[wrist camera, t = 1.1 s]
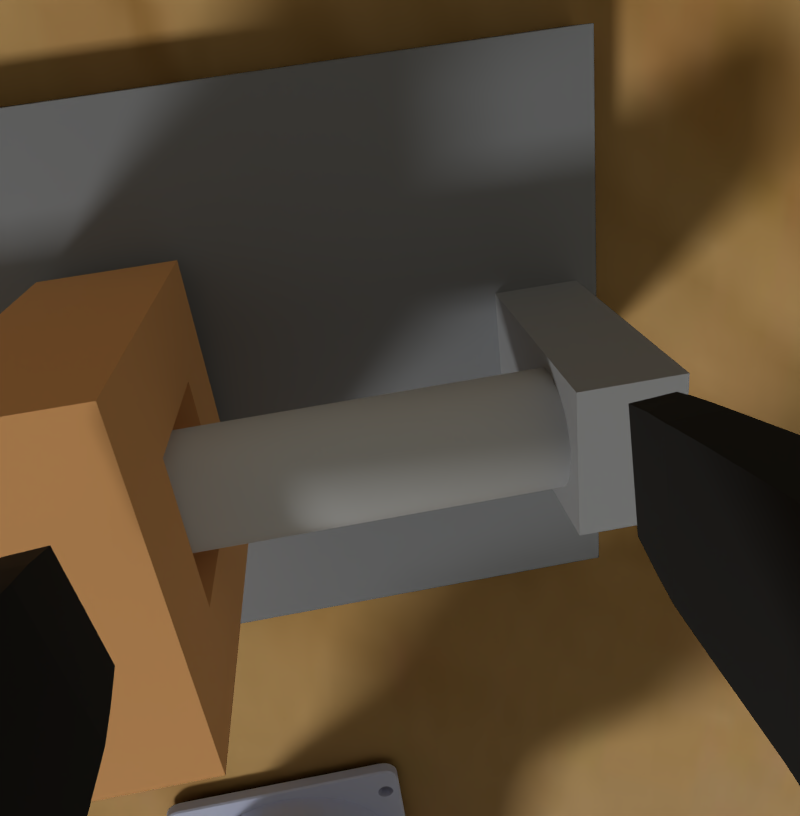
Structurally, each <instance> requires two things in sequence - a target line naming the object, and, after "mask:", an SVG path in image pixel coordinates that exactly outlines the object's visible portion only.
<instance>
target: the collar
mask: <svg viewBox="0 0 800 816" xmlns="http://www.w3.org/2000/svg"><path fill="white" fill-rule="evenodd" d="M217 422H220V419H219V416H218V412H217V408H216V404H215V400H214V397H213V393H212V389H211V385H210V382H209V378H208V374H207V370H206V367H205V363H204V359H203V355H202V352H201V348H200V344H199V340H198V337H197V333H196V329H195V325H194V322H193V318H192V314H191V310H190V306H189V303H188V299H187V295H186V291H185V288H184V284H183V280H182V276H181V273H180V269H179V265H178V261H177V260H175V261H168V262H162V263H156V264H149V265H143V266H137V267H130V268H124V269H117V270H111V271H105V272H98V273H92V274H85V275H79V276H73V277H66V278H60V279H54V280H47V281H41V282H36V283H35V284H34V285H32V286H31V287H30V288H29V289H28V290H27V291H26V292H25V293H23V294H22V295H21V296H20V297H19V298H18V299H17V300H15V301H14V302H13V303H12V304H11V305H10V306H9V307H7V308H6V309H5V310H4V311H3V312H2V313H1V314H0V558H1V557H4V556H8V555H12V554H16V553H20V552H25V551H29V550H33V549H37V548H41V547H45V546H49V545H50V546H51V548H52V550H53V551H54V553H55V555H56V557H57V559H58V561H59V563H60V564H61V566H62V568H63V570H64V572H65V574H66V576H67V577H68V579H69V581H70V583H71V585H72V587H73V589H74V590H75V592H76V594H77V596H78V598H79V600H80V602H81V603H82V605H83V607H84V609H85V611H86V613H87V615H88V616H89V618H90V620H91V622H92V624H93V626H94V628H95V629H96V631H97V633H98V635H99V637H100V639H101V641H102V642H103V644H104V646H105V648H106V650H107V652H108V654H109V655H110V657H111V659H112V661H113V663H114V665H115V671H114V681H113V690H112V700H111V709H110V716H109V723H108V730H107V737H106V744H105V749H104V753H103V757H102V761H101V765H100V769H99V773H98V776H97V780H96V784H95V788H94V792H93V796H92V799H91V802H93V801H98V800H103V799H108V798H113V797H118V796H123V795H128V794H133V793H139V792H144V791H149V790H154V789H159V788H164V787H169V786H174V785H179V784H184V783H190V782H195V781H200V780H205V779H210V778H215V777H220V776H225V774H226V763H227V753H228V743H229V733H230V723H231V713H232V703H233V693H234V683H235V673H236V663H237V653H238V643H239V633H240V623H241V613H242V603H243V593H244V583H245V573H246V563H247V553H248V543H247V544H242V545H236V546H231V547H225V548H220V549H214V550H208V551H203V552H197V553H192V550H191V546H190V543H189V540H188V537H187V534H186V530H185V527H184V524H183V521H182V518H181V514H180V511H179V508H178V505H177V502H176V498H175V495H174V492H173V489H172V486H171V482H170V479H169V476H168V473H167V470H166V466H165V463H164V460H163V456H164V453H165V450H166V447H167V444H168V441H169V438H170V435H171V432H172V430H176V429H182V428H188V427H194V426H200V425H206V424H212V423H217Z"/></svg>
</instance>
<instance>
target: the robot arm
mask: <svg viewBox="0 0 800 816" xmlns="http://www.w3.org/2000/svg"><path fill="white" fill-rule="evenodd" d="M629 418H630V432H631V446H632V460H633V474H634V488H635V502H636V516H637V530H638V537H639V539H640V541H641V543H642V545H643V547H644V549H645V551H646V553H647V555H648V557H649V559H650V561H651V563H652V565H653V567H654V569H655V571H656V573H657V575H658V576H659V578H660V580H661V582H662V584H663V586H664V588H665V589H666V591H667V593H668V595H669V597H670V599H671V600H672V602H673V604H674V605H675V607H676V608H677V610H678V611H679V613H680V614H681V616H682V617H683V619H684V620H685V622H686V623H687V625H688V626H689V627H690V629H691V630H692V632H693V633H694V635H695V636H696V637H697V639H698V640H699V642H700V643H701V645H702V646H703V647H704V649H705V650H706V652H707V653H708V655H709V656H710V658H711V659H712V660H713V662H714V663H715V665H716V666H717V667H718V669H719V670H720V672H721V673H722V674H723V676H724V677H725V679H726V680H727V681H728V683H729V684H730V686H731V687H732V689H733V690H734V691H735V693H736V694H737V696H738V697H739V698H740V700H741V701H742V703H743V704H744V705H745V707H746V708H747V710H748V711H749V713H750V714H751V715H752V717H753V718H754V720H755V721H756V722H757V724H758V725H759V727H760V728H761V730H762V731H763V732H764V734H765V735H766V737H767V738H768V739H769V741H770V742H771V744H772V745H773V746H774V748H775V749H776V751H777V752H778V754H779V755H780V756H781V758H782V759H783V761H784V762H785V763H786V765H787V767H788V768H789V770H790V771H791V773H792V774H793V776H794V777H795V779H796V780H797V782H798V783H799V785H800V435H798V434H795V433H793V432H790V431H787V430H785V429H782V428H779V427H776V426H774V425H771V424H768V423H766V422H763V421H760V420H758V419H755V418H752V417H750V416H747V415H744V414H742V413H739V412H736V411H734V410H731V409H728V408H726V407H723V406H720V405H717V404H715V403H712V402H709V401H706V400H703V399H700V398H697V397H694V396H691V395H687V394H684V393H680V392H674V393H669V394H665V395H661V396H657V397H653V398H649V399H645V400H641V401H637V402H633V403H629ZM114 671H115V665H114V663H113V661H112V659H111V657H110V655H109V654H108V652H107V650H106V648H105V646H104V644H103V642H102V641H101V639H100V637H99V635H98V633H97V631H96V629H95V628H94V626H93V624H92V622H91V620H90V618H89V616H88V615H87V613H86V611H85V609H84V607H83V605H82V603H81V602H80V600H79V598H78V596H77V594H76V592H75V590H74V589H73V587H72V585H71V583H70V581H69V579H68V577H67V576H66V574H65V572H64V570H63V568H62V566H61V564H60V563H59V561H58V559H57V557H56V555H55V553H54V551H53V550H52V548H51V546H50V545H49V546H45V547H41V548H37V549H33V550H29V551H25V552H20V553H16V554H12V555H8V556H4V557H1V558H0V816H87V815H88V811H89V807H90V803H91V799H92V796H93V792H94V788H95V784H96V780H97V776H98V773H99V769H100V765H101V761H102V757H103V753H104V749H105V744H106V737H107V730H108V723H109V716H110V709H111V700H112V690H113V681H114ZM385 786H386V787H385ZM167 816H405V811H404V806H403V800H402V795H401V790H400V785H399V780H398V774H397V770H396V768H395V767H394V766H393V765H391V764H388V763H380V764H375V765H370V766H365V767H360V768H355V769H350V770H345V771H340V772H334V773H329V774H324V775H319V776H314V777H309V778H304V779H299V780H294V781H289V782H284V783H279V784H274V785H269V786H263V787H258V788H253V789H248V790H243V791H238V792H233V793H228V794H223V795H218V796H213V797H208V798H203V799H198V800H193V801H187V802H182V803H178V804H175V805H173V806H172V807H170V808H169V810H168V812H167Z"/></svg>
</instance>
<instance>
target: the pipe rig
mask: <svg viewBox="0 0 800 816" xmlns="http://www.w3.org/2000/svg"><path fill="white" fill-rule="evenodd" d="M175 260H177V261H178V265H179V269H180V273H181V276H182V280H183V284H184V288H185V291H186V295H187V299H188V303H189V306H190V310H191V314H192V318H193V322H194V325H195V329H196V333H197V337H198V340H199V344H200V348H201V352H202V355H203V359H204V363H205V367H206V370H207V374H208V378H209V382H210V385H211V389H212V393H213V397H214V400H215V404H216V408H217V412H218V416H219V419H220V422H217V423H212V424H206V425H200V426H194V427H188V428H182V429H176V430H172V432H171V435H170V438H169V441H168V444H167V447H166V450H165V453H164V456H163V460H164V463H165V466H166V470H167V473H168V476H169V479H170V482H171V486H172V489H173V492H174V495H175V498H176V502H177V505H178V508H179V511H180V514H181V518H182V521H183V524H184V527H185V530H186V534H187V537H188V540H189V543H190V546H191V550H192V553H197V552H203V551H208V550H214V549H220V548H225V547H231V546H236V545H242V544H247V543H248V553H247V563H246V573H245V583H244V593H243V603H242V613H241V623H246V622H251V621H257V620H262V619H267V618H273V617H278V616H284V615H289V614H294V613H300V612H305V611H311V610H316V609H321V608H327V607H332V606H338V605H343V604H349V603H354V602H359V601H365V600H370V599H376V598H381V597H386V596H392V595H397V594H403V593H408V592H414V591H419V590H424V589H430V588H435V587H441V586H446V585H451V584H457V583H462V582H468V581H473V580H478V579H484V578H489V577H495V576H500V575H506V574H511V573H516V572H522V571H527V570H533V569H538V568H543V567H549V566H554V565H560V564H565V563H571V562H576V561H581V560H587V559H592V558H598V557H599V533H598V532H602V531H608V530H613V529H619V528H624V527H629V526H635V525H637V516H636V502H635V488H634V474H633V460H632V446H631V432H630V418H629V403H633V402H637V401H641V400H645V399H649V398H653V397H657V396H661V395H665V394H669V393H674V392H680V393H684V394H687V395H688V392H689V372H687V371H686V370H685V369H684V368H682V367H681V366H680V365H679V364H678V363H676V362H675V361H674V360H673V359H671V358H670V357H669V356H668V355H667V354H665V353H664V352H663V351H662V350H660V349H659V348H658V347H657V346H656V345H654V344H653V343H652V342H651V341H649V340H648V339H647V338H646V337H645V336H643V335H642V334H641V333H640V332H638V331H637V330H636V329H635V328H634V327H632V326H631V325H630V324H629V323H628V322H626V321H625V320H624V319H623V318H621V317H620V316H619V315H618V314H617V313H615V312H614V311H613V310H612V309H610V308H609V307H608V306H607V305H606V304H604V303H603V302H602V301H601V300H599V299H598V298H597V297H596V217H595V112H594V23H590V24H580V25H571V26H564V27H557V28H550V29H543V30H536V31H529V32H522V33H515V34H508V35H501V36H494V37H487V38H481V39H474V40H467V41H460V42H453V43H446V44H439V45H432V46H425V47H418V48H411V49H404V50H397V51H390V52H383V53H376V54H369V55H362V56H355V57H348V58H341V59H334V60H327V61H320V62H313V63H306V64H299V65H292V66H285V67H278V68H271V69H264V70H257V71H250V72H243V73H236V74H229V75H222V76H215V77H208V78H201V79H194V80H187V81H180V82H174V83H167V84H160V85H153V86H146V87H139V88H132V89H125V90H118V91H111V92H104V93H97V94H90V95H83V96H76V97H69V98H62V99H55V100H48V101H41V102H34V103H27V104H20V105H13V106H6V107H0V314H1V313H2V312H3V311H4V310H5V309H6V308H7V307H9V306H10V305H11V304H12V303H13V302H14V301H15V300H17V299H18V298H19V297H20V296H21V295H22V294H23V293H25V292H26V291H27V290H28V289H29V288H30V287H31V286H32V285H34V284H35V283H36V282H41V281H47V280H54V279H60V278H66V277H73V276H79V275H85V274H92V273H98V272H105V271H111V270H117V269H124V268H130V267H137V266H143V265H149V264H156V263H162V262H168V261H175Z"/></svg>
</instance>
